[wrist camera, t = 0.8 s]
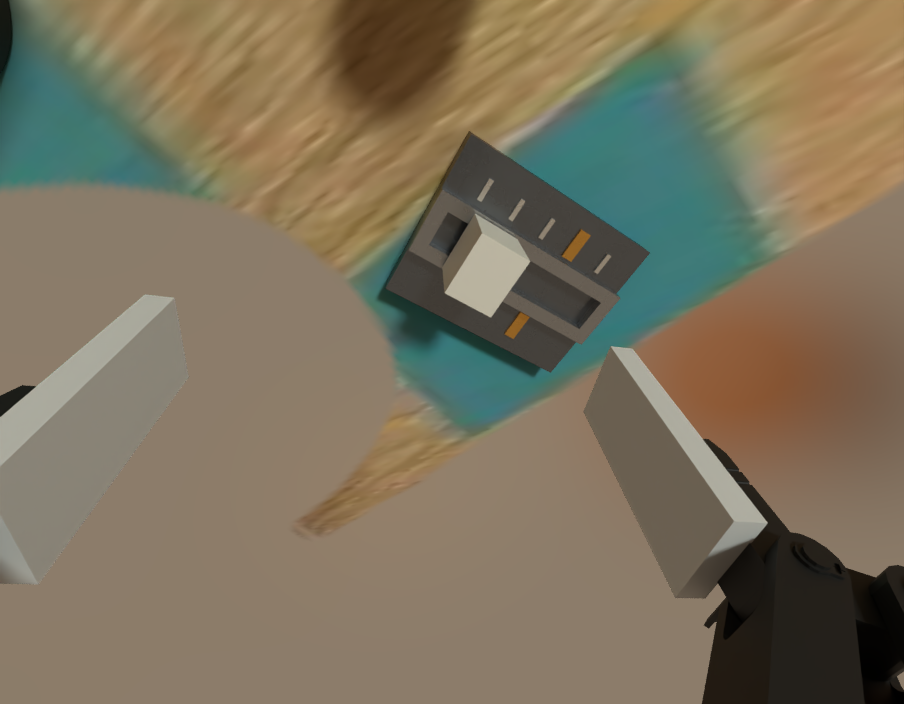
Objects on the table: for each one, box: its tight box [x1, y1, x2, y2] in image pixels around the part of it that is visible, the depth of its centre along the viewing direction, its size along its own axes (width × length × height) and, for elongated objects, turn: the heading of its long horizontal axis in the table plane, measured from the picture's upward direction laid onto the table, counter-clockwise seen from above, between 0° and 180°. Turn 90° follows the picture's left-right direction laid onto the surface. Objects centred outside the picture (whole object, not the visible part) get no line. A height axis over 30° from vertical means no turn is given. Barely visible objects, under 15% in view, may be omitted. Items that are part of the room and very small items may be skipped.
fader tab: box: [442, 214, 530, 317], centre depth 34 cm, size 4×5×6 cm
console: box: [386, 131, 650, 373], centre depth 39 cm, size 18×14×3 cm
